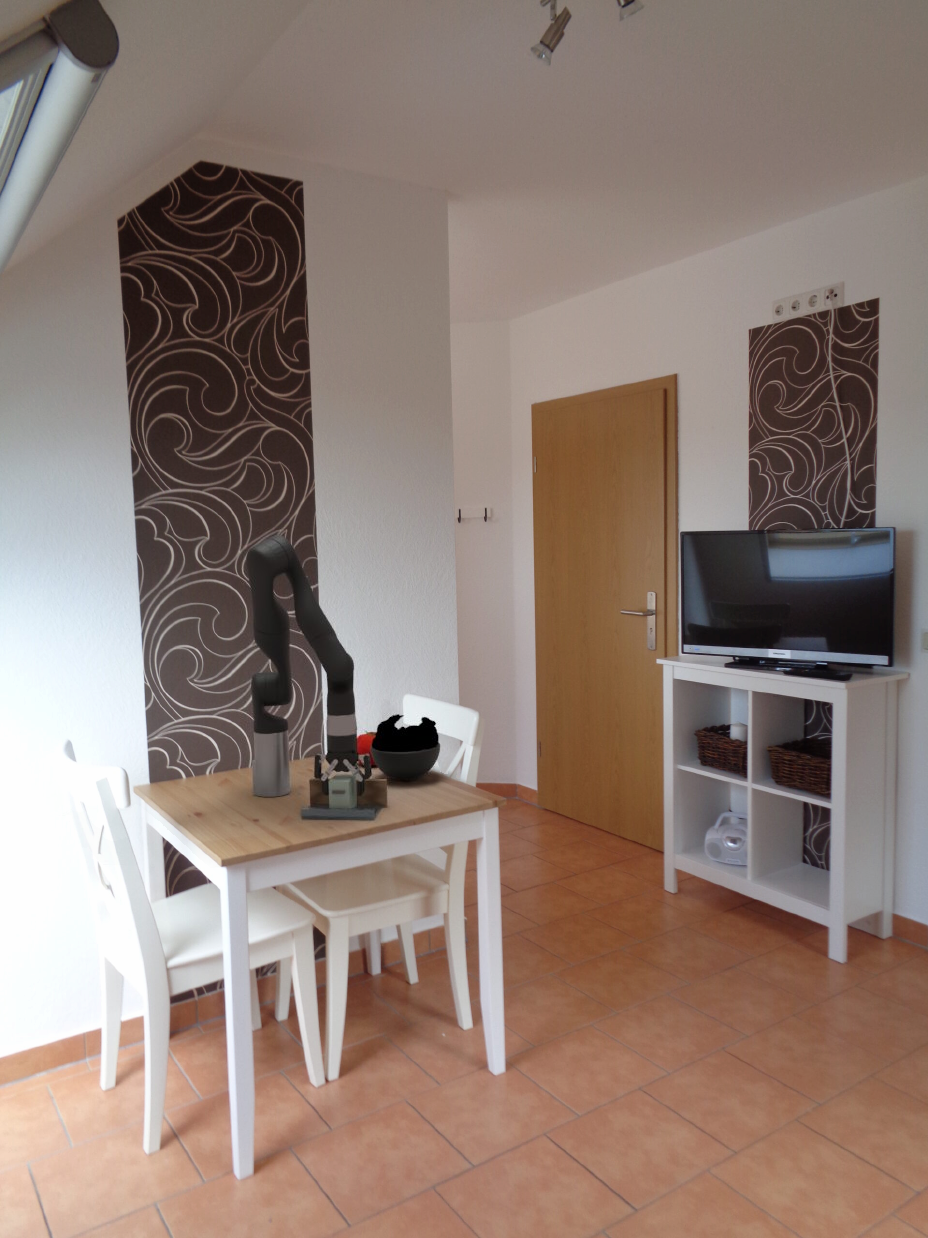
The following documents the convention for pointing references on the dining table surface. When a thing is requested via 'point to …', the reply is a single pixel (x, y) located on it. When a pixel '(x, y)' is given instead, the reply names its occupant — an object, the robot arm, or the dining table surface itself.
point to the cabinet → (342, 791)
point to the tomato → (365, 745)
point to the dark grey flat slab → (341, 812)
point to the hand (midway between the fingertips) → (343, 795)
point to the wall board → (371, 795)
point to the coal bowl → (405, 748)
